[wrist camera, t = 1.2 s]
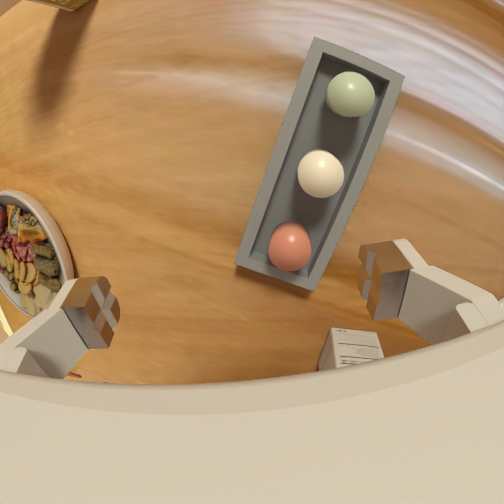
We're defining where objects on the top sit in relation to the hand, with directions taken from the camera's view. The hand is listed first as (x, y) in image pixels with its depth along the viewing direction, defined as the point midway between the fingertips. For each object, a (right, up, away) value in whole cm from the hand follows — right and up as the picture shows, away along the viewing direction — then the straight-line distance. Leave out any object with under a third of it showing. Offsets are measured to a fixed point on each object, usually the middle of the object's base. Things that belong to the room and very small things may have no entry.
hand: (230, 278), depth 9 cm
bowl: (-47, +1, +43) cm, 64 cm away
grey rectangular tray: (+9, +12, +30) cm, 33 cm away
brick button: (+6, +2, +31) cm, 32 cm away
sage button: (+12, +19, +22) cm, 32 cm away
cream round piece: (+9, +11, +27) cm, 30 cm away
